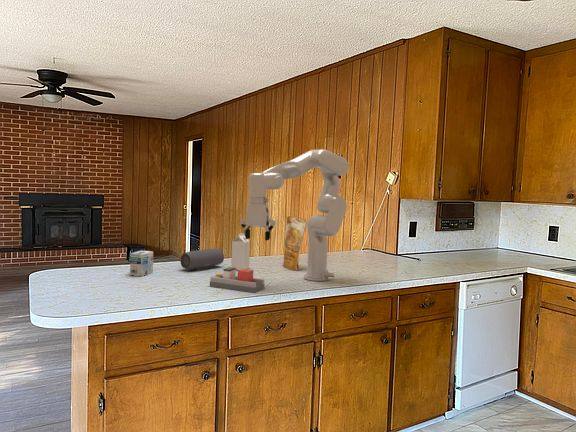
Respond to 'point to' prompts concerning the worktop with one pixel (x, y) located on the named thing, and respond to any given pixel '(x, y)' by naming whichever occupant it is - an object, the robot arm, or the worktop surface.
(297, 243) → the pancake mix bag
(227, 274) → the breaker lever
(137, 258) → the light bulb box
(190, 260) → the bluetooth speaker
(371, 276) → the worktop surface
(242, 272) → the block
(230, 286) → the gray rectangular tray
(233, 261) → the milk carton
